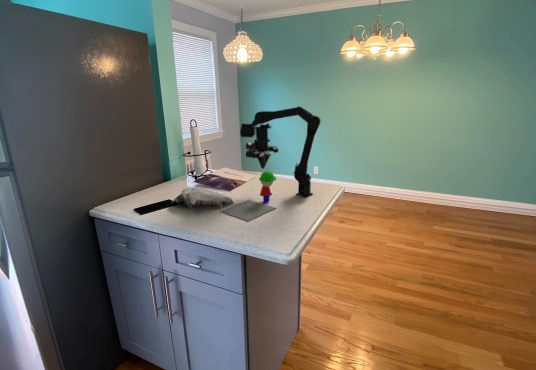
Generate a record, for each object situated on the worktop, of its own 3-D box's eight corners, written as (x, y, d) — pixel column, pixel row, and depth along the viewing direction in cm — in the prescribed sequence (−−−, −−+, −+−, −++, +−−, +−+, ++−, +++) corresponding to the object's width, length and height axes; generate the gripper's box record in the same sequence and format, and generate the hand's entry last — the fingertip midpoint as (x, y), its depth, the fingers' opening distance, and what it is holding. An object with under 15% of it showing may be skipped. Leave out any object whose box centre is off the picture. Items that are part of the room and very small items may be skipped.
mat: (248, 200, 145) (248, 199, 144) (276, 208, 134) (276, 207, 134) (220, 211, 131) (220, 211, 131) (248, 221, 121) (248, 220, 121)
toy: (274, 205, 138) (274, 173, 134) (258, 204, 140) (257, 173, 135) (277, 199, 145) (277, 169, 141) (261, 198, 147) (261, 168, 143)
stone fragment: (203, 191, 163) (202, 179, 161) (241, 202, 145) (240, 189, 143) (160, 203, 144) (159, 190, 142) (197, 217, 126) (196, 202, 124)
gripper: (262, 134, 159) (262, 163, 164) (236, 138, 145) (238, 169, 150) (278, 135, 152) (279, 165, 157) (253, 140, 139) (254, 173, 143)
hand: (262, 168), depth 152 cm, fingers closed
